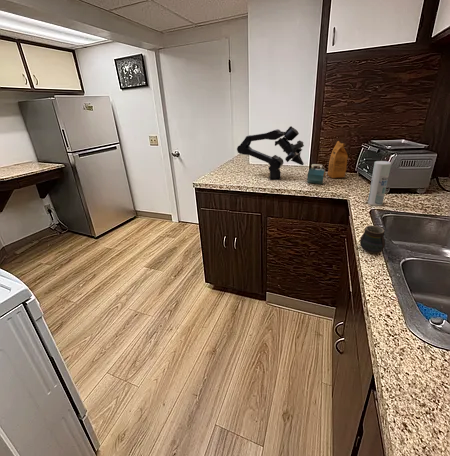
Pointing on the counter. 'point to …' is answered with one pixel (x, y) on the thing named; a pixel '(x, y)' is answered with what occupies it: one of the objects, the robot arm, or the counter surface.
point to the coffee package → (338, 161)
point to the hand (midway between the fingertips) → (303, 164)
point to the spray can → (379, 182)
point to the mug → (316, 175)
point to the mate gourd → (373, 239)
